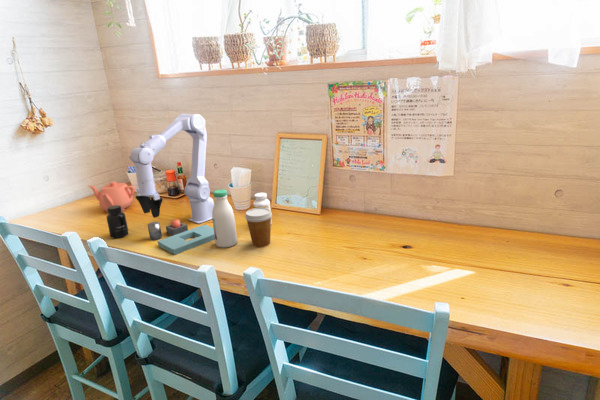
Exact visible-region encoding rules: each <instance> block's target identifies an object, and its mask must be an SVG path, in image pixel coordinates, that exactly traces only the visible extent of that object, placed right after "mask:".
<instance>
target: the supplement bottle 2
mask: <svg viewBox="0 0 600 400" xmlns="http://www.w3.org/2000/svg"><path fill="white" fill-rule="evenodd" d="M267 197H268V195H267V193H266V192H257V193H255V194H254V199H255V200H254V201H253V204H252V205H253V209H254V208H268V209H270V211H271V212H272V209H271V201H270V200H269V199H268V198H267ZM272 224H273V220H272V217H271V225H272Z"/></svg>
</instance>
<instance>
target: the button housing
mask: <svg viewBox="0 0 600 400" xmlns="http://www.w3.org/2000/svg"><path fill="white" fill-rule="evenodd" d="M180 225H181V226H179V227H177V228H173V227H172V223H171V224H168V225H165V230H166V234H168V235H169V236H170V237H171V236H173V235H176V234H179V233H182V232H185V231H188V230H189V229H188V224H186V223H183V222H181V221H180Z"/></svg>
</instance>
